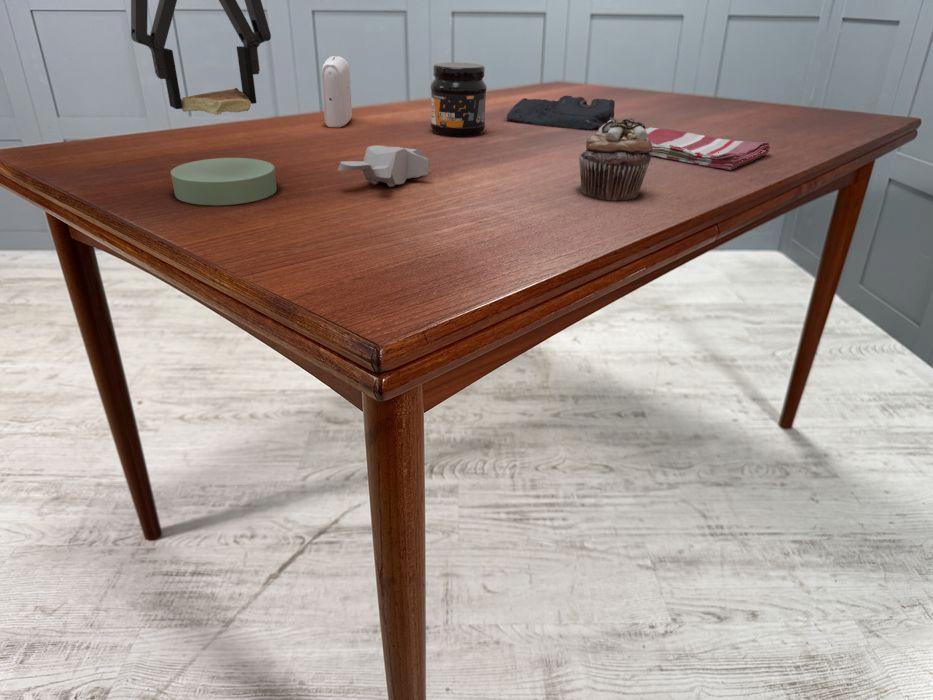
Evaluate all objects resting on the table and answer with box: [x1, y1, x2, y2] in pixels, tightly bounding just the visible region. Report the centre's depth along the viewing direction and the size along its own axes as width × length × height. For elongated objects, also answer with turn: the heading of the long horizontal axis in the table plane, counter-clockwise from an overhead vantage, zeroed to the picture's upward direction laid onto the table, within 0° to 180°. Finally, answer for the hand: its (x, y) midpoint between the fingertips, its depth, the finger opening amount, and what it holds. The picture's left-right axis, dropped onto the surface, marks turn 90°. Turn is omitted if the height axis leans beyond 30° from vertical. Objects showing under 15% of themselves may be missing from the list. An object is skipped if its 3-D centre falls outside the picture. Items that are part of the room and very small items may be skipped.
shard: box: [181, 87, 252, 116], centre depth 84 cm, size 11×8×2 cm
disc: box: [170, 157, 278, 206], centre depth 89 cm, size 13×13×3 cm
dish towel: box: [645, 126, 771, 171], centre depth 118 cm, size 17×23×3 cm
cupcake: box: [578, 117, 652, 201], centre depth 91 cm, size 10×10×10 cm
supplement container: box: [430, 62, 488, 137], centre depth 126 cm, size 10×10×12 cm
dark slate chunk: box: [506, 95, 616, 131], centre depth 142 cm, size 15×22×5 cm
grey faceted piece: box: [337, 144, 430, 188], centre depth 94 cm, size 10×5×15 cm
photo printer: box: [320, 55, 353, 128], centre depth 131 cm, size 10×4×12 cm, turn 178°
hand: (214, 104), depth 84 cm, fingers closed on shard, 8 cm apart
